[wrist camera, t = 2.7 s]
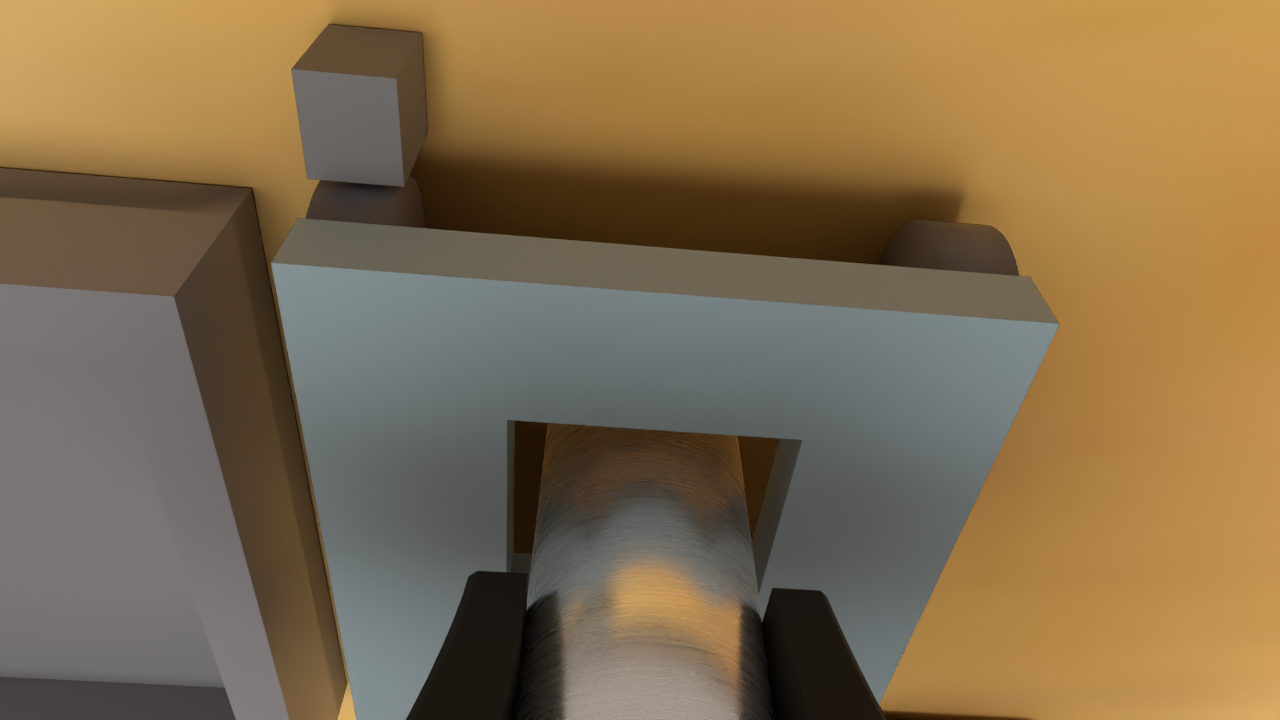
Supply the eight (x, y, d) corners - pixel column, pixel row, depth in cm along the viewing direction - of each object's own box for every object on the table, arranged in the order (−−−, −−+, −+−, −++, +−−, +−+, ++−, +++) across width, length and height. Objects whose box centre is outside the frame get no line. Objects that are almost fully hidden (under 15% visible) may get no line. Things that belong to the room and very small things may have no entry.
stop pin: (720, 472, 16) (787, 1129, 9) (544, 461, 16) (469, 1121, 9) (749, 332, 14) (865, 1027, 7) (550, 317, 14) (461, 1015, 7)
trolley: (803, 659, 21) (864, 1028, 15) (400, 638, 20) (311, 1013, 14) (1008, 87, 12) (1314, 445, 7) (328, 23, 12) (52, 357, 6)
